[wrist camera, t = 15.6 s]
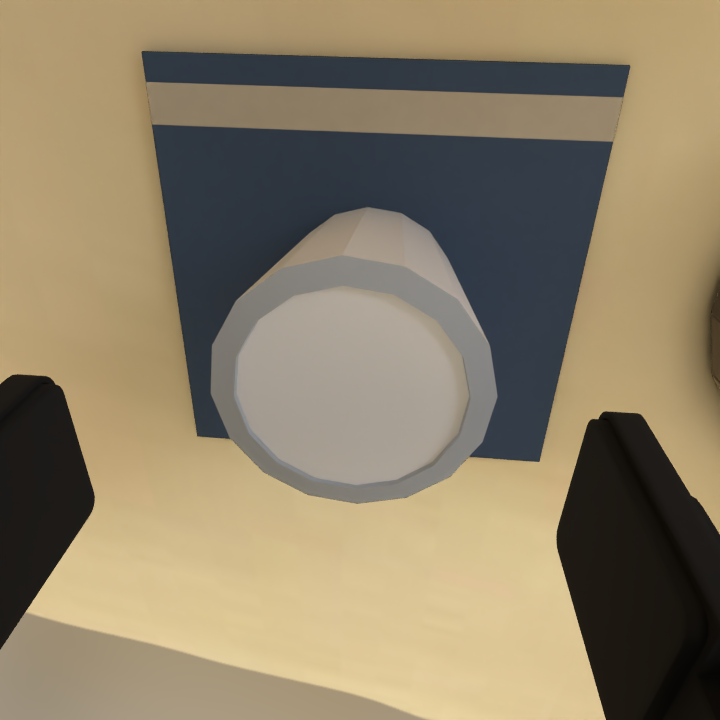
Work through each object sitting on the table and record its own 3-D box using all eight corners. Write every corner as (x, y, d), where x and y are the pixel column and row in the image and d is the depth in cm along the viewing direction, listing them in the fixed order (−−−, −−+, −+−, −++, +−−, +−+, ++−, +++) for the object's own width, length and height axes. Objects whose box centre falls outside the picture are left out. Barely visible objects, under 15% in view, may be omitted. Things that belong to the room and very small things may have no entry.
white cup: (477, 184, 17) (511, 255, 11) (466, 375, 20) (488, 510, 14) (260, 190, 18) (180, 259, 12) (284, 374, 21) (231, 503, 15)
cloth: (199, 432, 23) (196, 437, 23) (145, 51, 16) (140, 50, 16) (537, 457, 22) (539, 462, 22) (627, 64, 16) (631, 64, 15)
